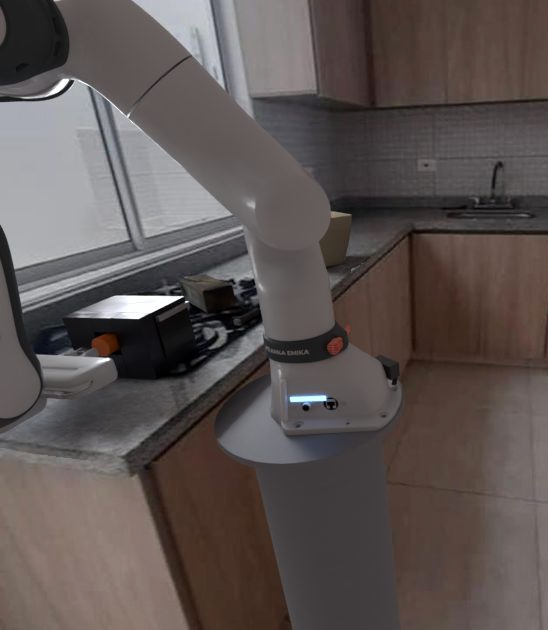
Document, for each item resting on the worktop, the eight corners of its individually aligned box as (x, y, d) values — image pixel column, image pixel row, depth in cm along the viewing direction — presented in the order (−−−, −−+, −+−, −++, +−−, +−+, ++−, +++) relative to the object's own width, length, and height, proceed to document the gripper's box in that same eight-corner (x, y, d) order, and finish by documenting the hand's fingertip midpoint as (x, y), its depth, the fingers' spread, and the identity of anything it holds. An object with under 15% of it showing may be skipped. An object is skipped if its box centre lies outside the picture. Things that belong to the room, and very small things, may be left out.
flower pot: (331, 254, 167) (325, 209, 161) (358, 263, 153) (353, 214, 147) (283, 264, 156) (275, 216, 150) (307, 274, 142) (300, 222, 136)
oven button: (126, 348, 81) (121, 331, 80) (112, 357, 78) (106, 338, 77) (110, 348, 82) (104, 330, 81) (95, 356, 79) (88, 338, 78)
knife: (277, 293, 120) (292, 294, 119) (278, 299, 121) (293, 300, 119) (227, 318, 103) (245, 319, 102) (229, 325, 104) (246, 327, 102)
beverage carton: (211, 292, 129) (206, 270, 127) (238, 306, 116) (233, 282, 114) (182, 299, 124) (176, 277, 122) (207, 315, 111) (201, 290, 109)
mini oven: (202, 350, 91) (188, 296, 87) (161, 379, 80) (143, 319, 76) (132, 348, 94) (115, 295, 90) (83, 375, 83) (61, 317, 79)
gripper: (61, 378, 61) (138, 337, 73) (-55, 371, 64) (36, 333, 77) (76, 417, 63) (148, 370, 76) (-37, 408, 67) (49, 365, 79)
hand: (91, 351), depth 76 cm, fingers closed
